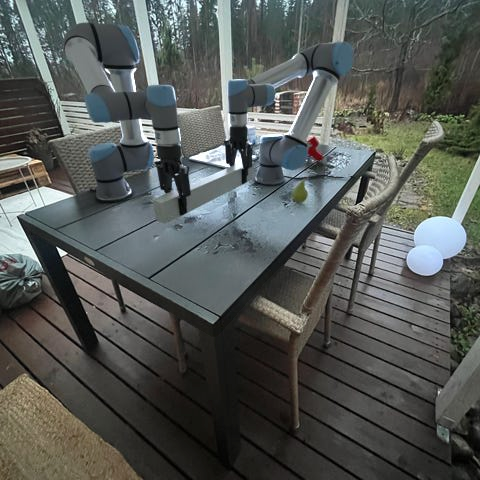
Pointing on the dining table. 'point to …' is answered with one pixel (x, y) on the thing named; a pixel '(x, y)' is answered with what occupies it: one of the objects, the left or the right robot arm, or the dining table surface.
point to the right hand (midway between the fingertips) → (239, 181)
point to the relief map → (217, 157)
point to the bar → (200, 192)
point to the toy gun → (313, 149)
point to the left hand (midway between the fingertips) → (178, 211)
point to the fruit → (300, 192)
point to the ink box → (251, 134)
